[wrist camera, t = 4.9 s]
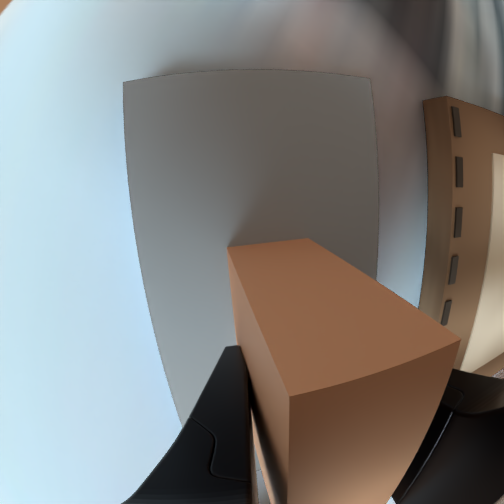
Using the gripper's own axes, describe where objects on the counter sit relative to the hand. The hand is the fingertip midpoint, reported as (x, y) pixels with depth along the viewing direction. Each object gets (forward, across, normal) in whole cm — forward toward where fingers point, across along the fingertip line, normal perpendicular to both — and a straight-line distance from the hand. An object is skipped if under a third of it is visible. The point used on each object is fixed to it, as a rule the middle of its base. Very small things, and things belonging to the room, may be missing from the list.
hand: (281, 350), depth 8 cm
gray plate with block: (+2, 0, 0) cm, 2 cm away
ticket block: (+2, -13, 0) cm, 13 cm away
